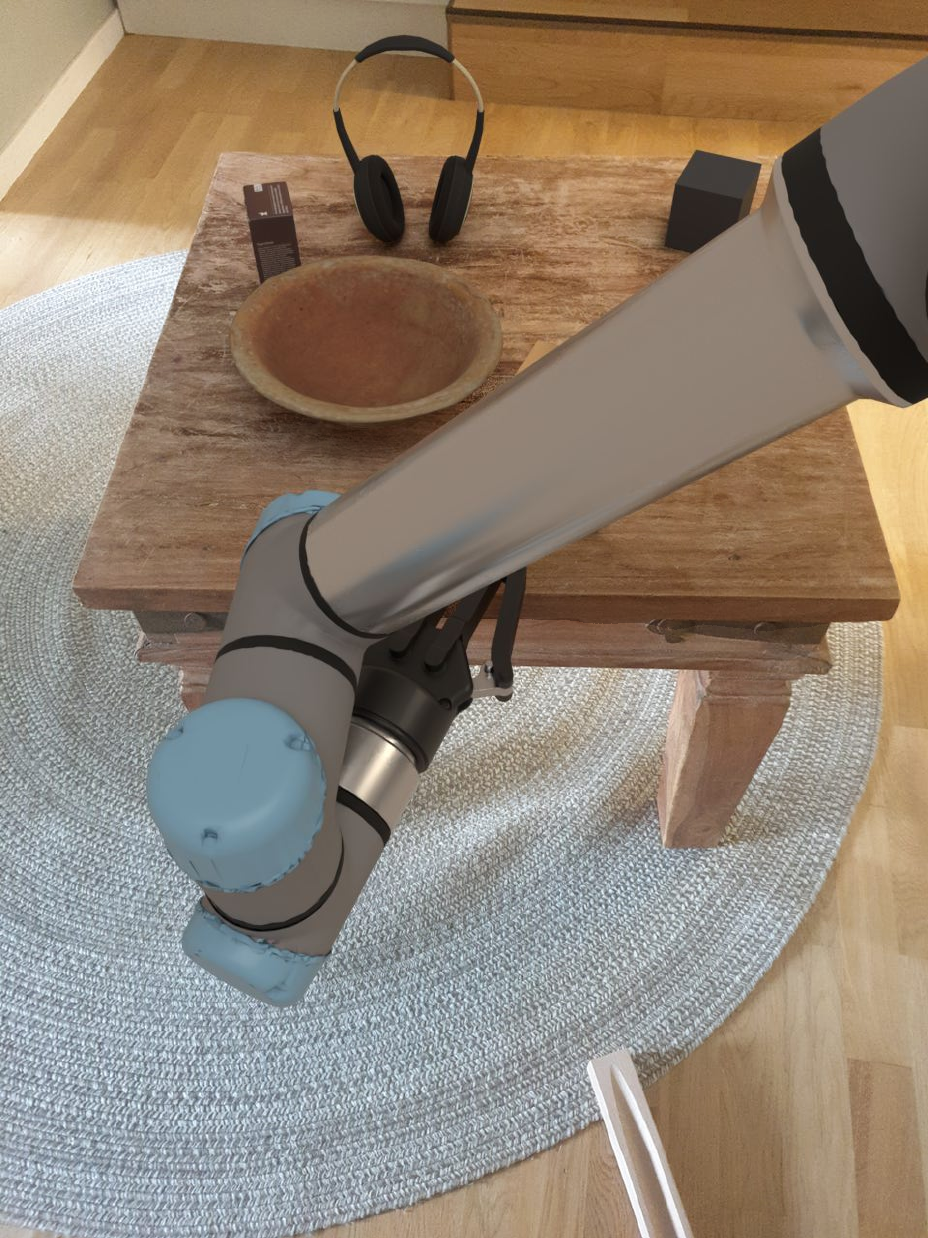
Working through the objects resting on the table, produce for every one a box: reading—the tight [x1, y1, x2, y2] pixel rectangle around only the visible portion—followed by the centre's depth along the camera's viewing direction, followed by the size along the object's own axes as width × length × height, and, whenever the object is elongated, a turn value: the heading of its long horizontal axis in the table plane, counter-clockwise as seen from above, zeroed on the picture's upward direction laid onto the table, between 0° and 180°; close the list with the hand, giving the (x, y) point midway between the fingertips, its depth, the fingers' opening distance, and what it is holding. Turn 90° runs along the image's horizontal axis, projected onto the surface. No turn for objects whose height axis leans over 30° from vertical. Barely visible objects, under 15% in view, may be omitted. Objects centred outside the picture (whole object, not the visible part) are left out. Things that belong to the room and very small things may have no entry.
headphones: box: [332, 34, 485, 245], centre depth 92 cm, size 9×15×20 cm, turn 87°
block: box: [664, 149, 763, 254], centre depth 97 cm, size 7×7×7 cm
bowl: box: [228, 255, 504, 429], centre depth 83 cm, size 24×24×8 cm
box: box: [242, 180, 302, 286], centre depth 89 cm, size 6×4×12 cm
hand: (521, 488), depth 69 cm, fingers closed
